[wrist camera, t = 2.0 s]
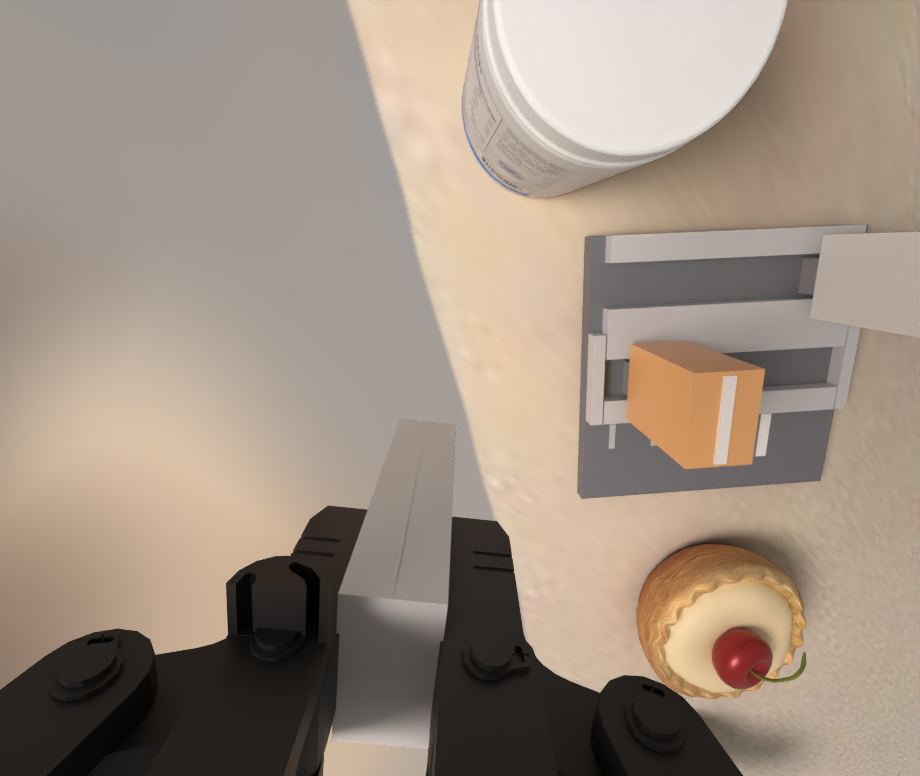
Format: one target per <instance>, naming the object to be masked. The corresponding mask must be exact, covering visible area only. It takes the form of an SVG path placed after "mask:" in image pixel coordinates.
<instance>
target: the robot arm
mask: <svg viewBox="0 0 920 776" xmlns="http://www.w3.org/2000/svg"><path fill="white" fill-rule="evenodd" d="M455 437H456V425H454V424H445V423H436V422H427V421H417V420H408V419H400V420H399V423H398V426H397V428H396V431H395V435H394V437H393V440H392V443H391V445H390V448H389V451H388V454H387V457H386V460H385V462H384V465H383V468H382V471H381V474H380V477H379V480H378V482H377V485H376V488H375V491H374V494H373V496H372V499H371V502H370V505H369V508H368V510H365V509H356V508H345V507H336V506H327V507H326V508H324V509H323V510H322V511H320V512H319V513H318V514H316V515H315V516H314V517H312V518H311V519H310V521H309V522H308V524H307V526H306V528H305V530H304V531H303V533H302V535H301V539H299V541H298V542H297V545H296V546H295V548H294V551H293V553H292V554H291V556H275V557H271V558H267V559H263V560H260V561H256V562H254V563H252V564H250V565H249V566H246V567H245V568H243V569H241V570H239V571H238V572H237V573H236V574H235V575H234V576H233V577H232V578H231V579H230V580H229V581H228V582H227V583H226V591H227V592H226V594H227V617H228V636H227V637H226V639H224V640H222V641H219V642H217V643H214V644H211V645H207V646H203V647H199V648H194V649H188V650H182V651H177V652H171V653H164V654H159V655H155V652H154V650H153V647H152V644H151V641H150V639H148V638H147V637H145V636H144V635H142V634H141V633H139V632H138V631H131V630H123V629H113V630H107V631H100V632H94V633H91V634H89V635H86V636H83V637H81V638H78V639H75V640H72V641H70V642H68V643H66V644H65V645H63V646H61V647H60V648H58V649H56V650H55V651H53V652H51V653H50V654H48V655H46V656H45V657H44V658H42V659H41V660H40V661H38V662H37V663H36V664H34V665H33V666H31V667H30V668H29V669H27V670H26V671H25V672H23V673H22V674H21V675H19V676H18V677H17V678H15V679H14V680H13V681H11V682H10V683H9V684H7V685H6V686H5V687H3V688H2V689H1V690H0V776H323V763H324V751H325V748H326V744H327V740H328V737H329V733H330V729H331V726H332V740H335V741H346V742H357V743H368V744H379V745H390V746H401V747H413V748H423V749H428V763H427V771H426V776H743V775H742V774H741V772H740V771H739V769H738V768H737V767H736V765H735V764H734V762H733V761H732V760H731V758H730V757H729V756H728V754H727V753H726V751H725V750H724V749H723V747H722V746H721V744H720V743H719V742H718V740H717V739H716V738H715V736H714V735H713V733H712V732H711V731H710V729H709V728H708V726H707V725H706V724H705V722H704V721H703V720H702V718H701V717H700V715H699V714H698V713H697V712H696V711H695V710H694V709H693V708H692V707H691V706H690V705H689V703H688V702H687V701H686V700H685V699H684V698H683V697H682V696H680V695H679V694H677V693H676V692H674V691H673V690H671V689H670V688H668V687H667V686H665V685H664V684H662V683H659V682H657V681H654V680H651V679H649V678H646V677H643V676H628V675H624V676H621V677H618V678H616V679H613V680H610V681H609V682H608V683H607V685H606V686H605V687H604V688H603V690H602V691H601V692H600V693H599V692H596V691H594V690H591V689H589V688H586V687H583V686H581V685H578V684H576V683H573V682H571V681H568V680H566V679H564V678H562V677H560V676H558V675H556V674H555V673H553V672H552V671H551V670H549V669H548V668H547V667H545V666H544V665H543V664H542V663H541V662H540V661H539V660H538V659H537V658H536V656H535V654H534V651H533V648H532V647H531V646H530V645H529V644H528V643H527V641H526V640H525V637H524V633H523V628H522V621H521V614H520V607H519V601H518V594H517V587H516V580H515V573H514V567H513V560H512V553H511V546H510V540H509V536H508V535H507V534H506V532H505V531H504V530H503V528H502V527H501V526H500V525H499V523H498V522H497V521H488V520H479V519H470V518H460V517H452V504H453V502H452V501H453V482H454V459H455Z"/></svg>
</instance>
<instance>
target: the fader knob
mask: <svg viewBox="0 0 920 776" xmlns="http://www.w3.org/2000/svg"><path fill="white" fill-rule="evenodd" d="M764 375H765V369H764V368H761V367H758V366H755V365H752V364H750V363H747V362H744V361H741V360H738V359H735V358H733V357H730V356H727V355H724V354H721V353H718V352H716V351H713V350H710V349H707V348H704V347H702V346H699V345H696V344H693V343H690V342H687V341H671V342H653V343H635V344H631V345H630V360H624V364H623V382H622V392H623V393H624V394H626V395H627V396H628V397H627V414H626V420H628V421H629V422H630V423H631V424H632V425H634V426H635V427H636V428H637V429H638V430H639V431H641V432H642V433H643V434H644V435H645V436H647V437H648V438H649V439H650V440H651V441H652V442H654V443H655V444H656V445H657V446H658V447H660V448H661V449H662V450H663V451H664V452H665V453H667V454H668V455H669V456H670V457H671V458H673V459H674V460H675V461H676V462H677V463H678V464H680V465H681V466H682V467H683V468H684V469H695V468H709V467H722V466H736V465H750V464H752V460H753V453H754V446H755V439H756V432H757V425H758V417H759V410H760V403H761V396H762V389H763V382H764Z"/></svg>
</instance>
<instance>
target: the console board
mask: <svg viewBox="0 0 920 776" xmlns="http://www.w3.org/2000/svg"><path fill="white" fill-rule="evenodd" d="M867 228H868V225H867V224H864V225H842V226H819V227H796V228H773V229H750V230H727V231H704V232H681V233H658V234H635V235H612V236H592V237H585V252H584V286H583V320H582V354H581V388H580V422H579V456H578V490H577V492H578V494H579V495H580V497H581V498H582V499H585V498H598V497H611V496H625V495H638V494H651V493H664V492H678V491H691V490H704V489H717V488H731V487H744V486H757V485H771V484H784V483H797V482H810V481H820V480H821V475H822V469H823V464H824V459H825V453H826V448H827V443H828V437H829V432H830V426H831V421H832V416H833V410H834V409H844V408H845V407H846V402H847V397H848V392H849V387H850V381H851V376H852V371H853V366H854V361H855V355H856V350H857V345H858V340H859V335H860V330H861V327H862V328H867V329H873V330H878V331H884V332H889V333H895V334H900V335H906V336H911V337H917V338H920V231H906V232H877V233H867ZM671 341H687V342H690V343H693V344H696V345H699V346H702V347H704V348H707V349H710V350H713V351H716V352H718V353H721V354H724V355H727V356H730V357H733V358H735V359H738V360H741V361H744V362H747V363H750V364H752V365H755V366H758V367H761V368H764V369H765V375H764V382H763V389H762V396H761V403H760V410H759V417H758V425H757V432H756V439H755V446H754V453H753V460H752V464H750V465H736V466H722V467H709V468H695V469H684V468H683V467H682V466H681V465H680V464H678V463H677V462H676V461H675V460H674V459H673V458H671V457H670V456H669V455H668V454H667V453H665V452H664V451H663V450H662V449H661V448H660V447H658V446H657V445H656V444H655V443H654V442H652V441H651V440H650V439H649V438H648V437H647V436H645V435H644V434H643V433H642V432H641V431H639V430H638V429H637V428H636V427H635V426H634V425H632V424H631V423H630V422H629V421H628V420H626V414H627V397H628V396H627V395H626V394H624V393H623V392H622V382H623V364H624V360H630V345H631V344H635V343H653V342H671Z"/></svg>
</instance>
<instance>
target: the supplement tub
mask: <svg viewBox="0 0 920 776" xmlns="http://www.w3.org/2000/svg"><path fill="white" fill-rule="evenodd" d="M787 3H788V0H480V3H479V8H478V13H477V18H476V24H475V29H474V34H473V39H472V44H471V49H470V54H469V59H468V65H467V70H466V75H465V81H464V87H463V92H462V100H461V116H462V125H463V131H464V135H465V138H466V141H467V144H468V147H469V149H470V151H471V153H472V155H473V157H474V159H475V161H476V162H477V164H478V165H479V167H480V168H481V169H482V171H483V172H484V173H485V174H486V175H487V176H488V177H489V178H490V179H491V180H492V181H494V182H495V183H496V184H497V185H499V186H500V187H502V188H504V189H505V190H507V191H509V192H511V193H514V194H517V195H520V196H524V197H529V198H550V197H555V196H560V195H563V194H567V193H569V192H572V191H575V190H578V189H580V188H583V187H585V186H588V185H591V184H593V183H596V182H599V181H601V180H604V179H607V178H609V177H612V176H614V175H617V174H620V173H622V172H625V171H628V170H630V169H633V168H636V167H639V166H641V165H644V164H646V163H649V162H652V161H654V160H656V159H659V158H661V157H664V156H666V155H668V154H670V153H672V152H674V151H676V150H677V149H679V148H681V147H682V146H684V145H686V144H687V143H689V142H690V141H691V140H693V139H694V138H696V137H697V136H699V135H701V134H703V133H704V132H706V131H707V130H708V129H710V128H711V127H712V126H714V125H715V124H716V123H718V122H719V121H720V120H721V119H722V118H723V117H725V116H726V115H727V114H728V113H729V112H730V111H731V110H732V109H733V108H734V107H735V106H736V105H737V104H738V103H739V101H740V100H741V99H742V98H743V96H744V95H745V94H746V93H747V91H748V90H749V89H750V87H751V86H752V85H753V83H754V82H755V81H756V79H757V78H758V76H759V74H760V73H761V71H762V69H763V68H764V66H765V64H766V62H767V60H768V58H769V56H770V54H771V52H772V50H773V48H774V45H775V42H776V40H777V37H778V35H779V32H780V29H781V26H782V23H783V19H784V16H785V12H786V8H787Z"/></svg>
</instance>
